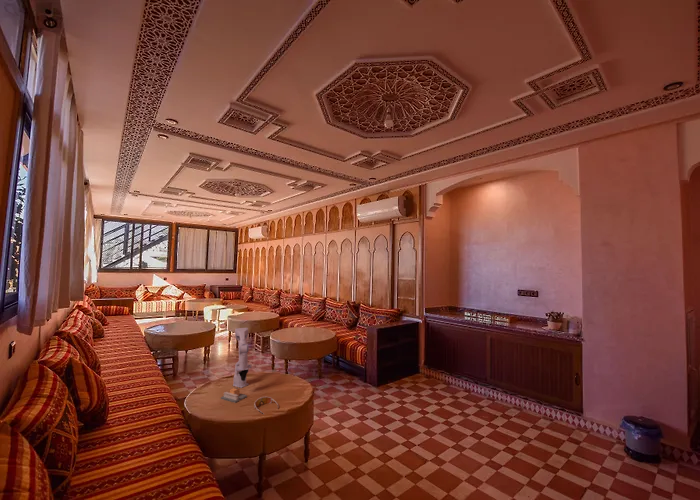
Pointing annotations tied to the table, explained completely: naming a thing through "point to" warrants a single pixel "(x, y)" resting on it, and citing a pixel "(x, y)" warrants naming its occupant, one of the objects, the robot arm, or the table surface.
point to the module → (235, 391)
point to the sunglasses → (264, 401)
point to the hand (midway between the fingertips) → (243, 380)
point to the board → (233, 397)
